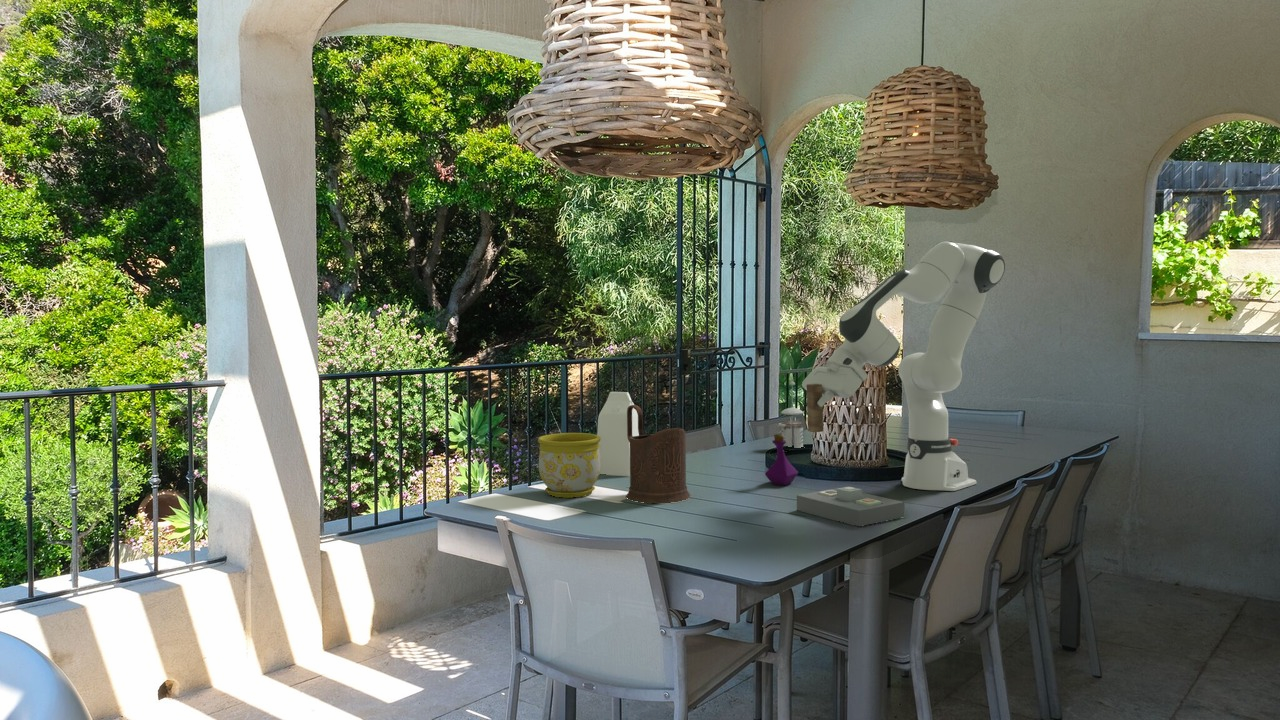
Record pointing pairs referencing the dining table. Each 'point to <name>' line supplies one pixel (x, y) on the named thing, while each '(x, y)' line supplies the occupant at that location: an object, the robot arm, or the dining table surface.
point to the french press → (792, 427)
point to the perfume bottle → (781, 463)
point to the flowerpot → (569, 463)
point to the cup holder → (656, 463)
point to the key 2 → (868, 502)
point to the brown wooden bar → (814, 408)
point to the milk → (616, 434)
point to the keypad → (850, 508)
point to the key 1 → (829, 493)
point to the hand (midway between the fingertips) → (813, 404)
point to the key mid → (849, 494)
